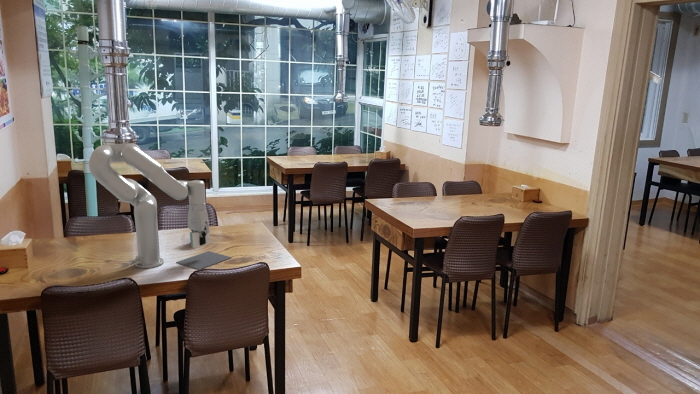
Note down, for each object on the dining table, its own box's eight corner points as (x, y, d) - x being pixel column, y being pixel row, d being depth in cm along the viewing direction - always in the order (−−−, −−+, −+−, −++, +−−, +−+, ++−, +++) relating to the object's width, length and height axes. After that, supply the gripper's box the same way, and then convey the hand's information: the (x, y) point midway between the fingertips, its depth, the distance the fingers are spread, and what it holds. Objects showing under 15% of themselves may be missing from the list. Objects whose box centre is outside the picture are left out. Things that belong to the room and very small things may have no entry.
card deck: (195, 247, 245) (194, 233, 243) (190, 246, 247) (189, 232, 245) (209, 242, 252) (208, 229, 251) (205, 241, 254) (204, 228, 252)
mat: (199, 270, 237) (199, 269, 237) (176, 262, 245) (176, 262, 245) (231, 258, 253) (231, 257, 253) (208, 251, 262) (208, 251, 262)
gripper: (179, 205, 246) (182, 242, 251) (203, 210, 238) (205, 249, 242) (192, 202, 253) (194, 238, 257) (215, 207, 244) (218, 244, 248)
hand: (200, 243), depth 249 cm, fingers closed on card deck, 3 cm apart
